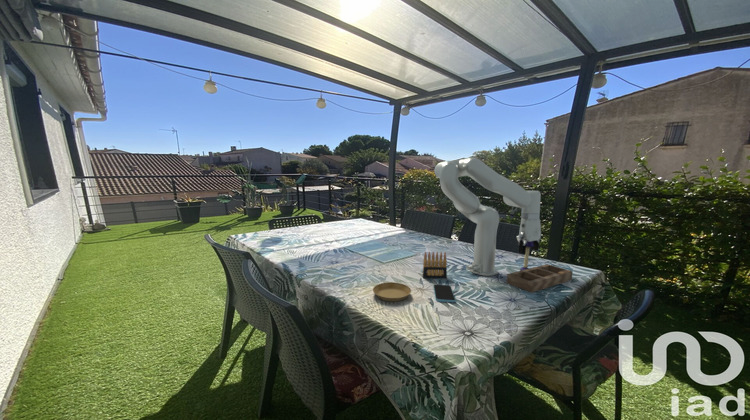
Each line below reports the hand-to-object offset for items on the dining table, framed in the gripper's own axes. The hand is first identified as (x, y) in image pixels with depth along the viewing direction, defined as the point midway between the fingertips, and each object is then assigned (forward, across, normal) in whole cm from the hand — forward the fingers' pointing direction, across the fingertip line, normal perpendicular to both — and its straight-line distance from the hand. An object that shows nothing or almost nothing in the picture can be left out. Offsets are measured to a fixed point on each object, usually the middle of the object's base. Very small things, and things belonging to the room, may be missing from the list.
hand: (528, 251), depth 131 cm
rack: (+10, -8, -11) cm, 16 cm away
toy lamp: (+10, -1, 0) cm, 10 cm away
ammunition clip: (+9, -46, +14) cm, 49 cm away
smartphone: (+9, -54, -1) cm, 55 cm away
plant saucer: (+8, -73, +7) cm, 74 cm away
